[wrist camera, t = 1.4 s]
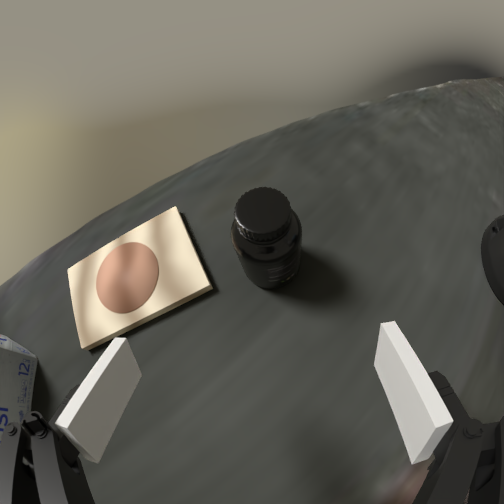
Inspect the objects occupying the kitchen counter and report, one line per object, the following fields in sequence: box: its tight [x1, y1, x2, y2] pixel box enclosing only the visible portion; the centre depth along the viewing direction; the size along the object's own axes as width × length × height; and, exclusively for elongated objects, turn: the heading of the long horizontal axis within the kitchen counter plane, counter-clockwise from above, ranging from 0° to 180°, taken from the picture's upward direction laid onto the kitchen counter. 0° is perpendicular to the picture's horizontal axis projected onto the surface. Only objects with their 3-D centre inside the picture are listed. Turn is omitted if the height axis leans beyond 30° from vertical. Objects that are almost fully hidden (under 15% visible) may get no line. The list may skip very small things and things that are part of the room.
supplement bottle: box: [231, 187, 302, 289], centre depth 28 cm, size 7×7×12 cm
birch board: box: [68, 206, 213, 350], centre depth 35 cm, size 20×13×2 cm, turn 116°
